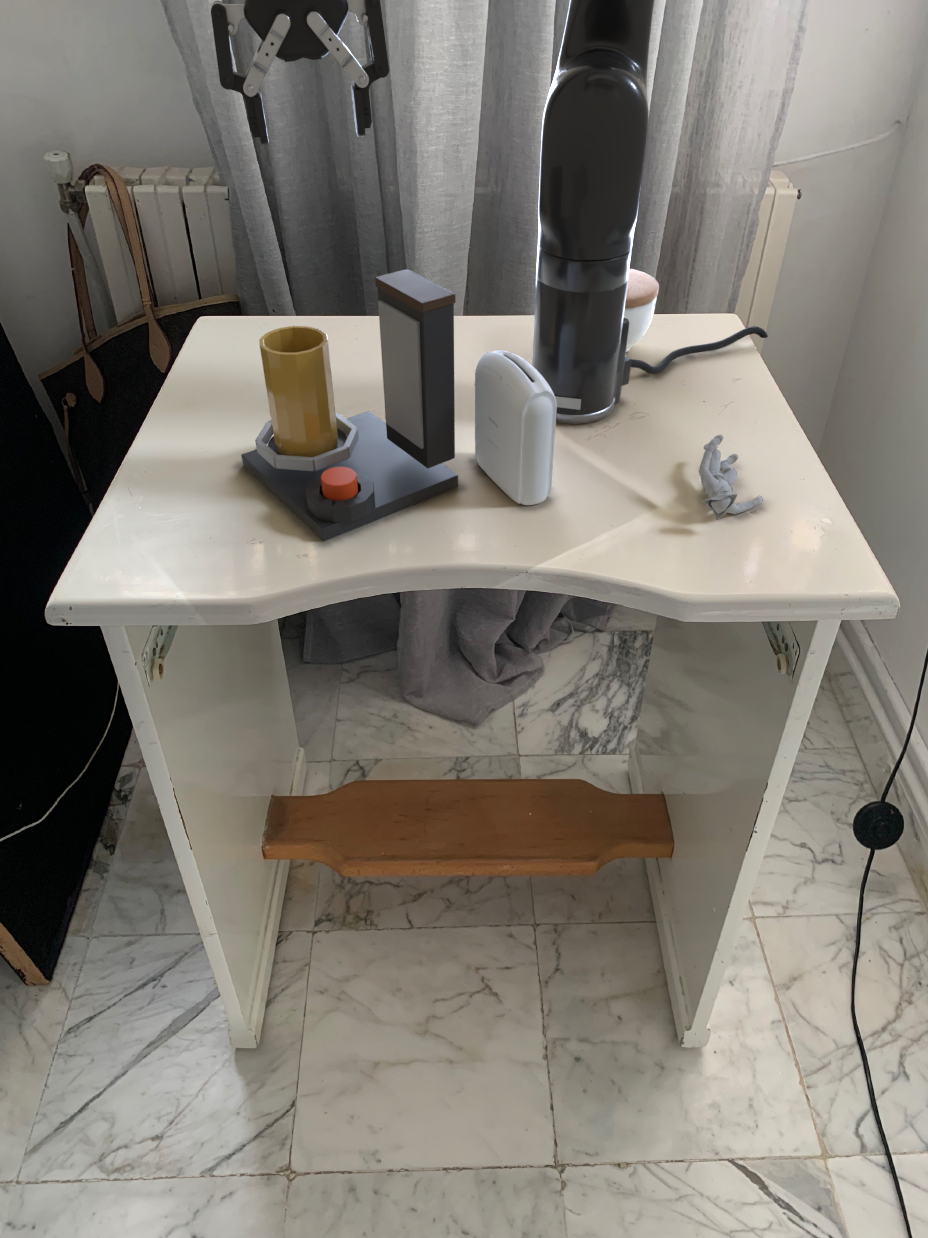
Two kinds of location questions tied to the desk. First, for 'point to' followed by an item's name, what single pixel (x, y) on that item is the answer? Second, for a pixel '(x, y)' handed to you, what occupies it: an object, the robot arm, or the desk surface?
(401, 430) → the coffee maker
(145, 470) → the desk surface
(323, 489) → the button
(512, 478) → the photo printer
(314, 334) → the cup
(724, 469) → the soldier figure
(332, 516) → the brewer base
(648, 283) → the trinket box
